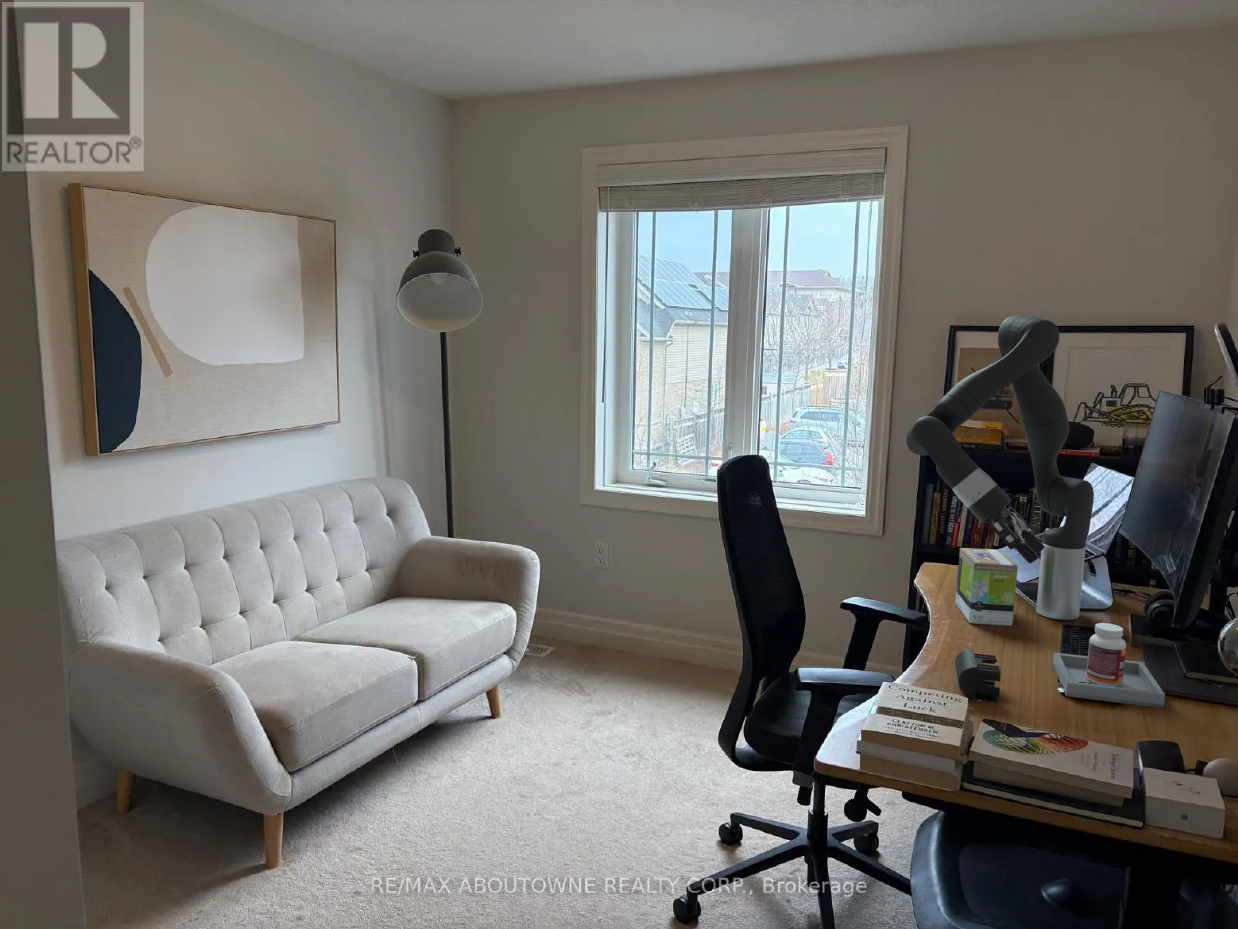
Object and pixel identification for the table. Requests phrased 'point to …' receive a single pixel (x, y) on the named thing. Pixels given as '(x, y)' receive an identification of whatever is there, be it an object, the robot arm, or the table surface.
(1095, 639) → the pill bottle
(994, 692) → the end cap
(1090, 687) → the tray
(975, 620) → the tea box
